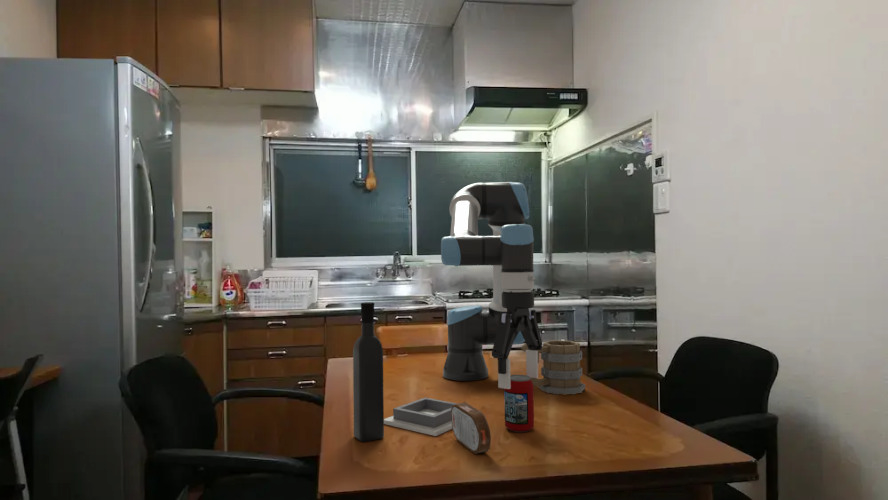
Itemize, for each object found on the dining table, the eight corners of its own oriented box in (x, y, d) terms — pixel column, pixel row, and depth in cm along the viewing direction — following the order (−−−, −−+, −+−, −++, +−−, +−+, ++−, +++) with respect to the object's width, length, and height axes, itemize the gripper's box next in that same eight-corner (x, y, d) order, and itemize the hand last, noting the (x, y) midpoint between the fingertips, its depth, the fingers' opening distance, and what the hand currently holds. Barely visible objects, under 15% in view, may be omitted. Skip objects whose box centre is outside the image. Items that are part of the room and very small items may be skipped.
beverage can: (498, 429, 124) (498, 377, 124) (515, 422, 129) (515, 372, 129) (523, 435, 119) (522, 381, 120) (539, 428, 124) (539, 376, 124)
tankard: (569, 383, 169) (568, 335, 169) (592, 392, 157) (591, 341, 157) (511, 388, 162) (510, 339, 162) (531, 399, 150) (530, 345, 150)
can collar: (423, 408, 142) (423, 394, 142) (474, 418, 133) (474, 404, 133) (382, 423, 129) (382, 409, 129) (435, 436, 120) (435, 420, 120)
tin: (492, 457, 107) (491, 415, 107) (478, 460, 105) (477, 417, 106) (461, 435, 121) (461, 397, 121) (448, 436, 119) (448, 399, 119)
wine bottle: (352, 435, 120) (351, 302, 121) (375, 431, 123) (374, 301, 124) (361, 443, 116) (359, 304, 116) (385, 438, 118) (384, 303, 119)
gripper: (505, 293, 112) (506, 395, 112) (555, 288, 132) (556, 375, 132) (475, 292, 117) (476, 390, 116) (527, 288, 137) (529, 371, 136)
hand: (518, 382), depth 124 cm, fingers open, 13 cm apart
